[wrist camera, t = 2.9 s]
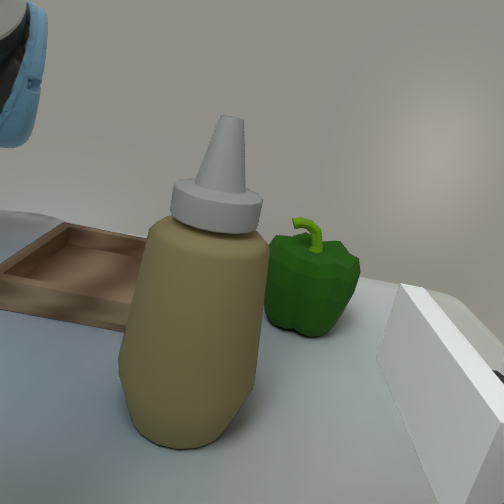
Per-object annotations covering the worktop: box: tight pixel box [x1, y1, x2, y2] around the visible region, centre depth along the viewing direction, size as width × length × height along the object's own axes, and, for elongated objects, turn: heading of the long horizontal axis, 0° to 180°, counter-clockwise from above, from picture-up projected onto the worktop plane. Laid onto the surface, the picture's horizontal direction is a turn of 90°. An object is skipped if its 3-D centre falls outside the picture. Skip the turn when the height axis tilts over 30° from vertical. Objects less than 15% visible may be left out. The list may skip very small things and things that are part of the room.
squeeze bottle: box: [118, 115, 270, 449], centre depth 26 cm, size 8×8×18 cm
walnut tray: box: [0, 222, 147, 332], centre depth 43 cm, size 15×15×2 cm
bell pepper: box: [264, 217, 360, 337], centre depth 42 cm, size 8×8×10 cm
